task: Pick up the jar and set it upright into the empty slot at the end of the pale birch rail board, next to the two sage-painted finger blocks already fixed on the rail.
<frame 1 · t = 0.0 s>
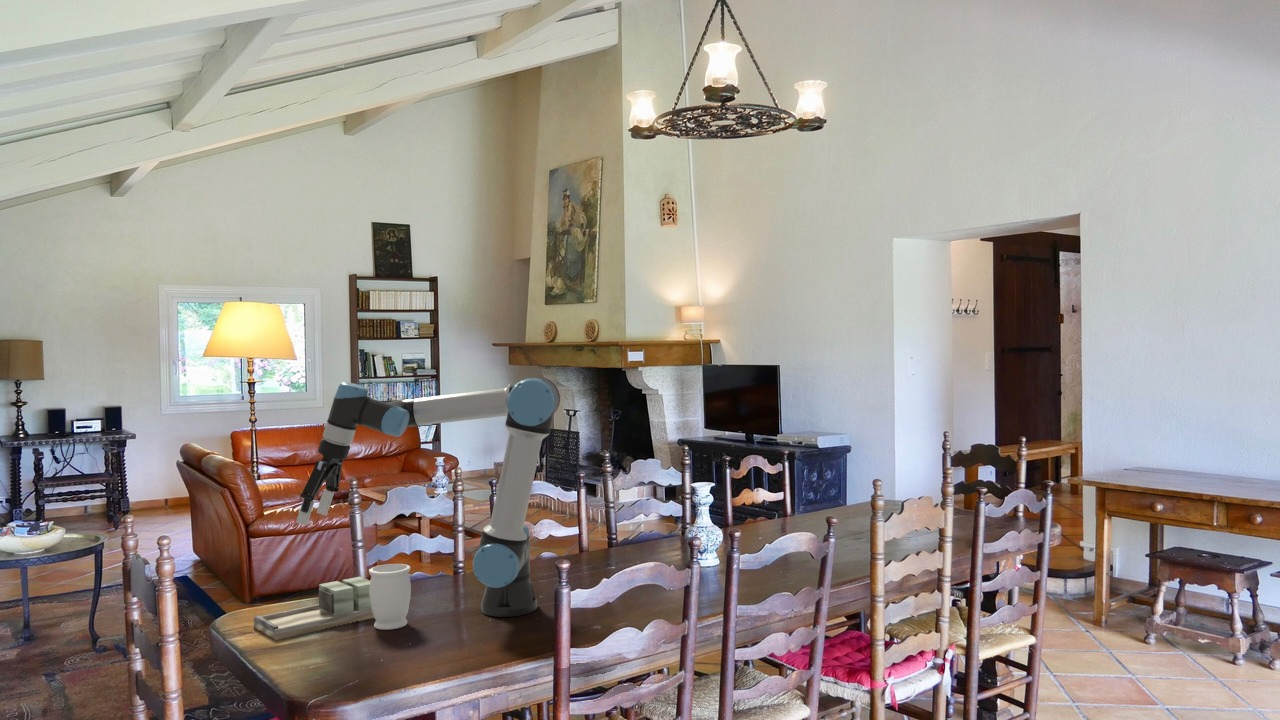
hand: (311, 518, 237), 28 cm above the table, tool tilted 20°, fingers open, 13 cm apart
jar: (390, 626, 236), on the table
rail board: (318, 621, 241), on the table
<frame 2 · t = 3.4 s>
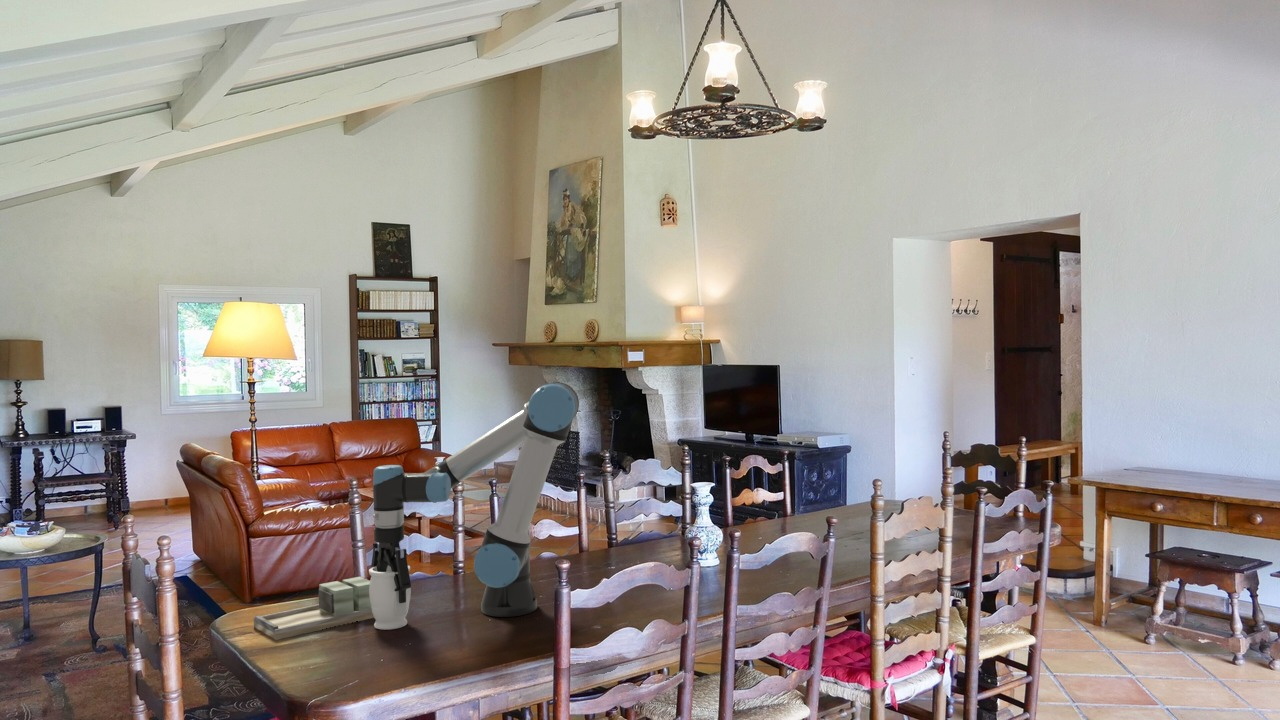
hand: (390, 610, 236), 4 cm above the table, tool pointing down, fingers closed on jar, 10 cm apart
jar: (390, 626, 236), on the table, touching gripper
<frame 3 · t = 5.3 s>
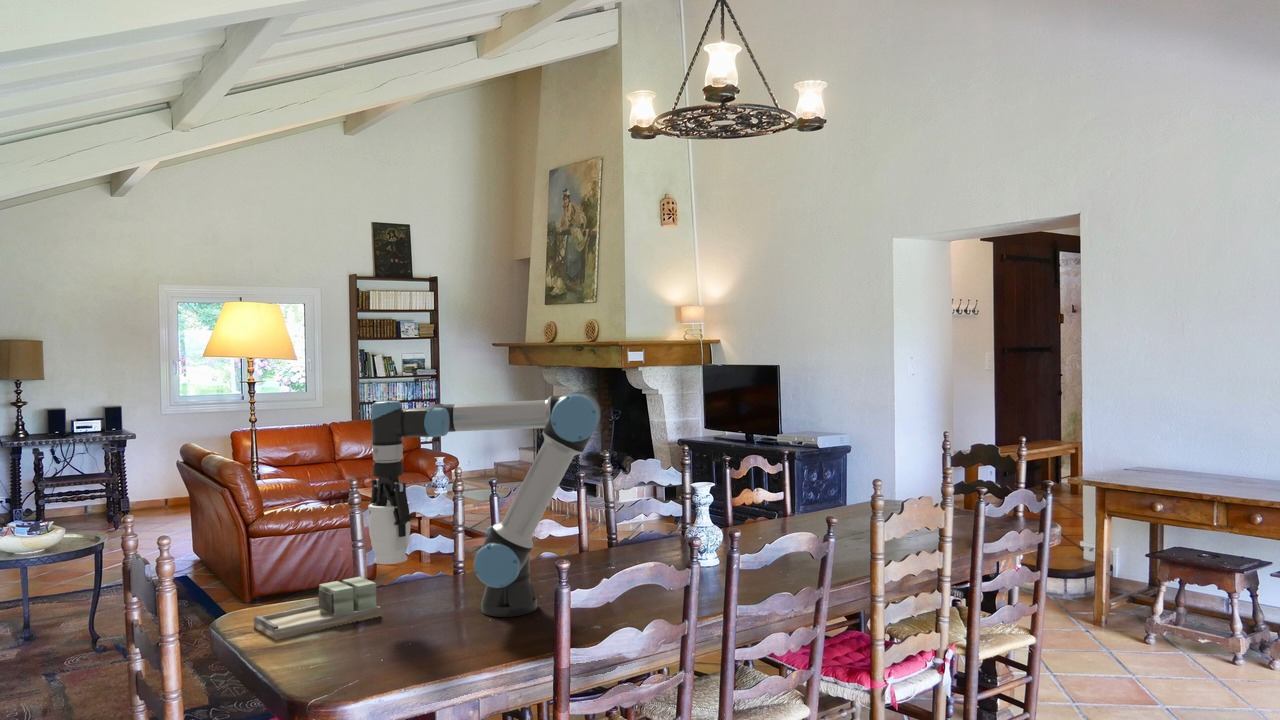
hand: (390, 546, 236), 21 cm above the table, tool pointing down, fingers closed on jar, 10 cm apart
jar: (390, 561, 236), point 17 cm above the table, touching gripper
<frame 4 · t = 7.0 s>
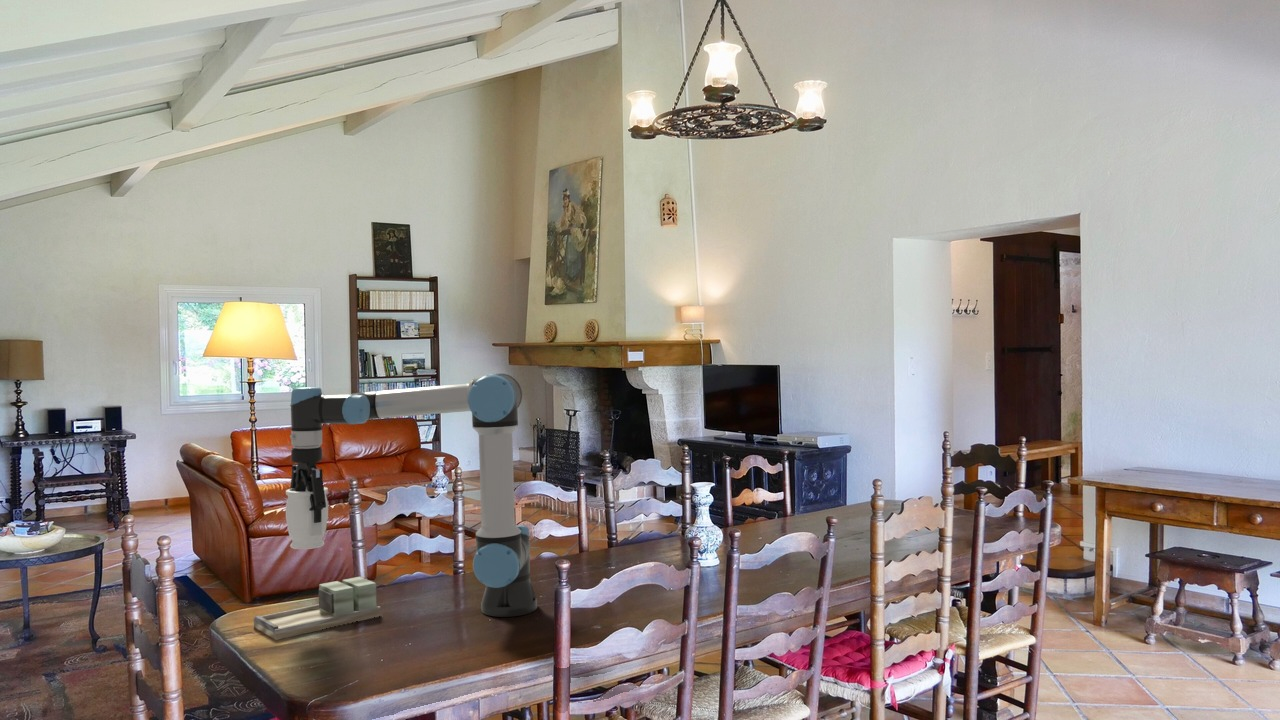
hand: (307, 531, 237), 25 cm above the table, tool pointing down, fingers closed on jar, 10 cm apart
jar: (307, 547, 237), point 20 cm above the table, touching gripper
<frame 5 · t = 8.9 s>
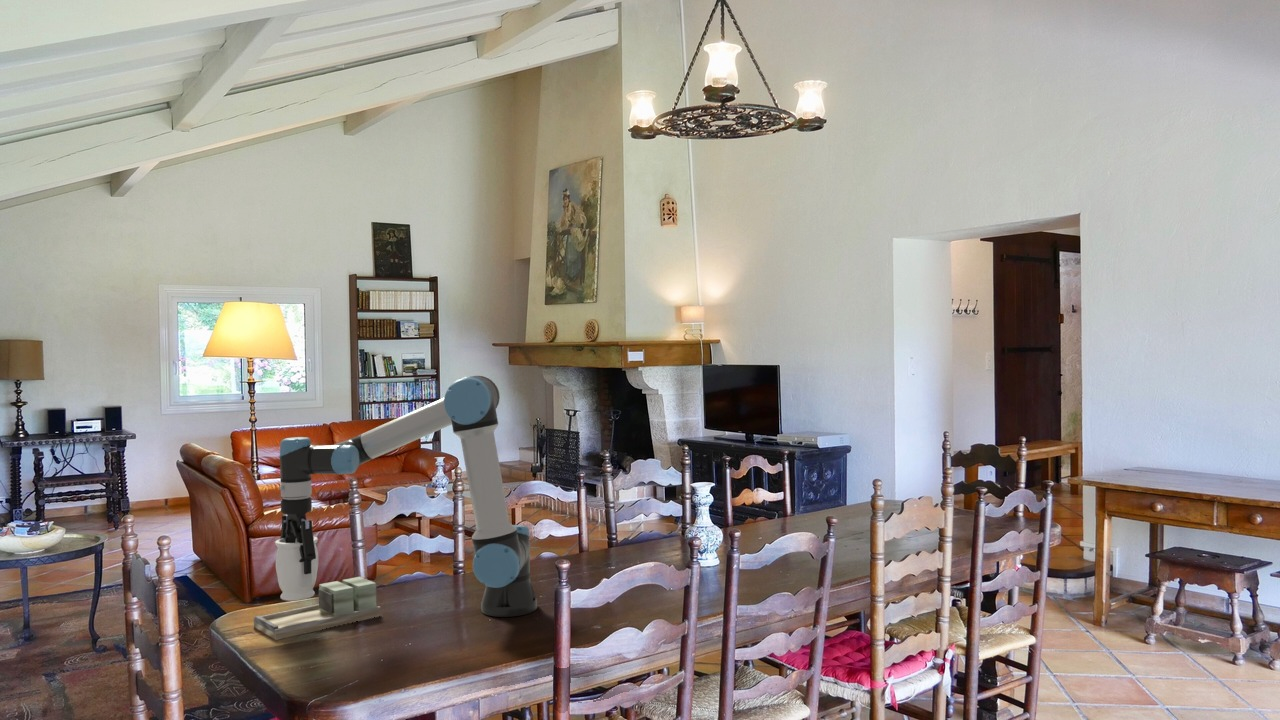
hand: (297, 582, 237), 11 cm above the table, tool pointing down, fingers closed on jar, 10 cm apart
jar: (297, 597, 237), point 7 cm above the table, touching gripper
when the fingers open (7 cm above the table, at t = 10.4 s): jar drops 1 cm, resting on rail board.
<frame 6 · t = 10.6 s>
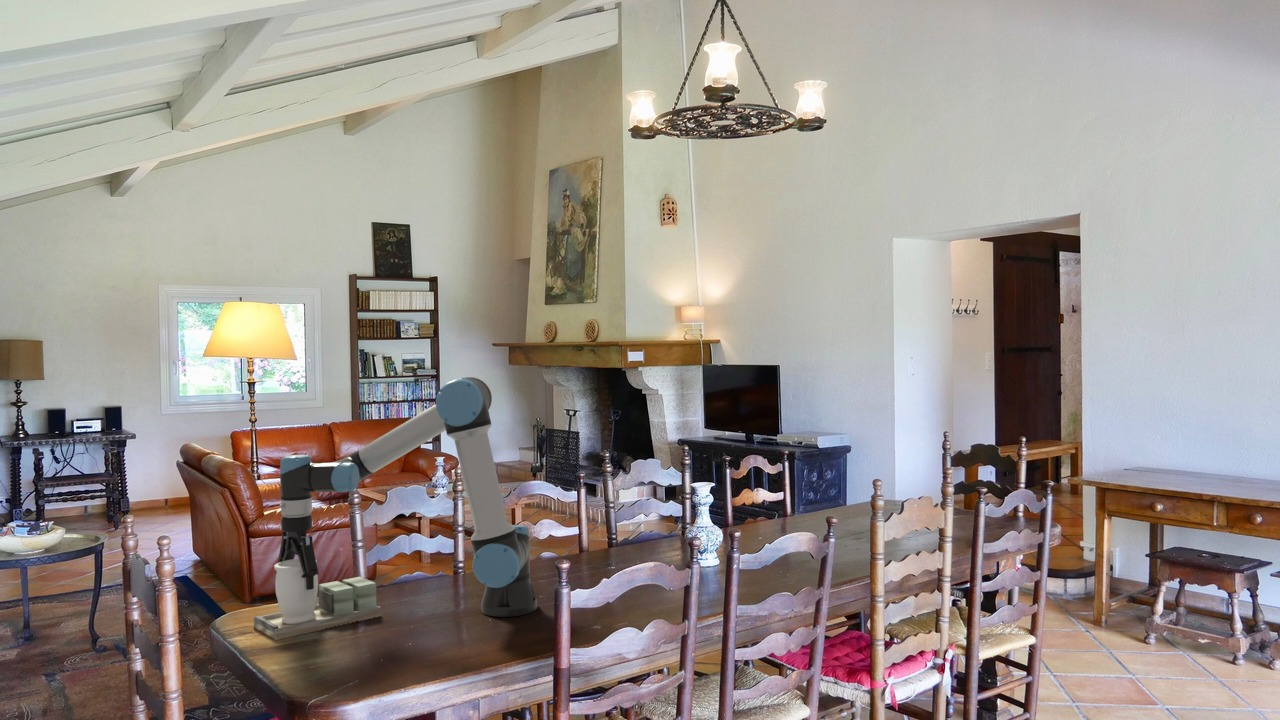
hand: (298, 596, 237), 8 cm above the table, tool pointing down, fingers open, 13 cm apart
jar: (298, 620, 237), point 1 cm above the table, touching rail board
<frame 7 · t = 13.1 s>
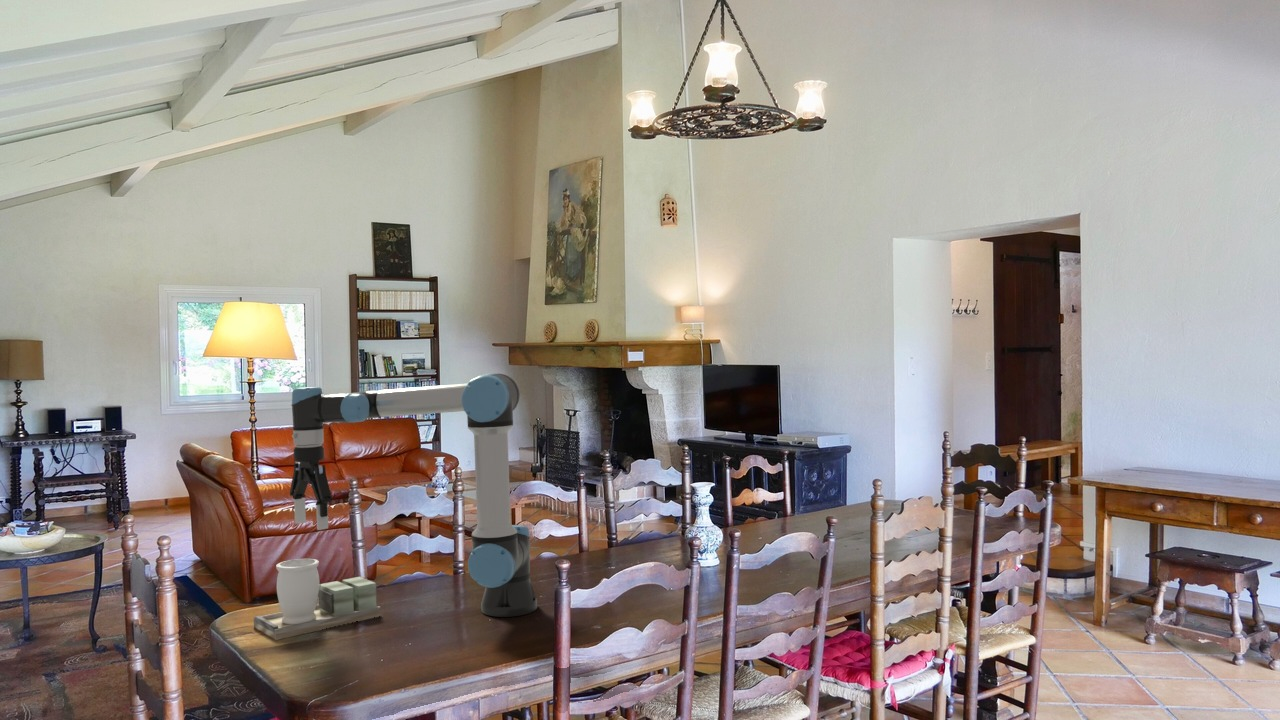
hand: (311, 526, 240), 25 cm above the table, tool pointing down, fingers open, 13 cm apart
nothing on the table moved.
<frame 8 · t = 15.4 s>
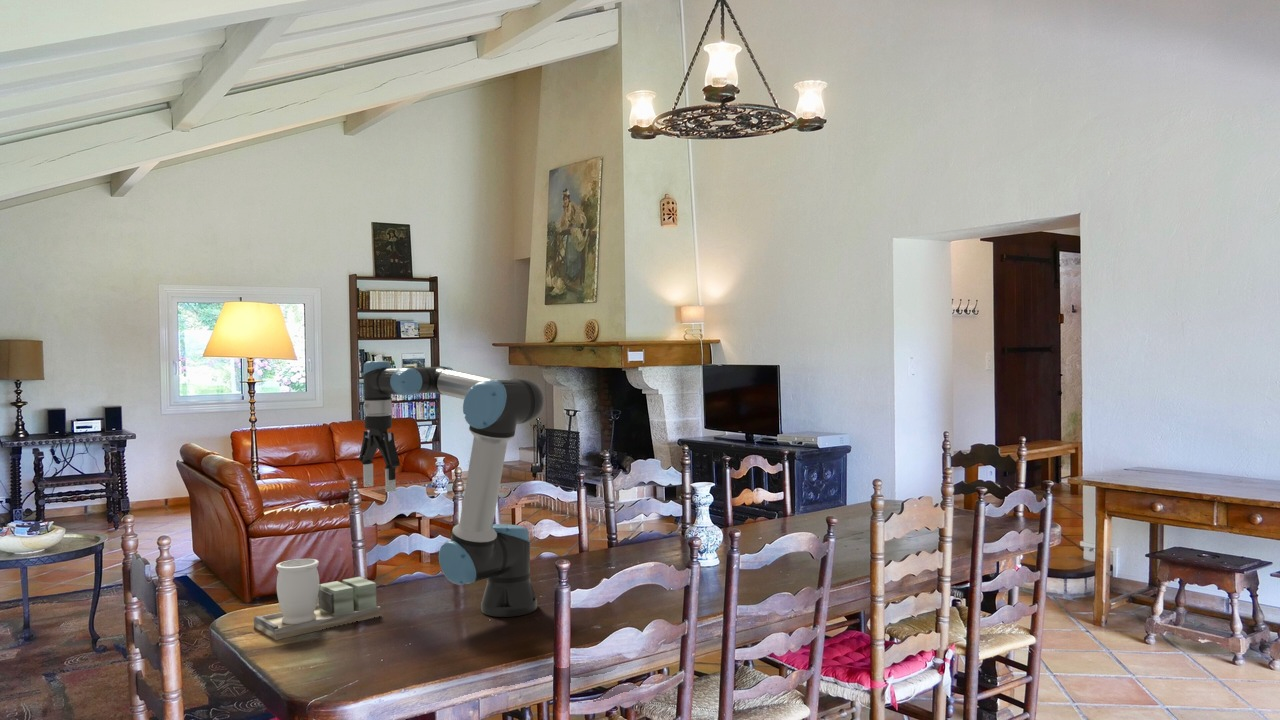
hand: (379, 489, 261), 32 cm above the table, tool pointing down, fingers open, 13 cm apart
nothing on the table moved.
at the end: jar 0.1 cm from the target spot on the rail board, point 1.3 cm above the rail board's base; jar tilted 0°; the gripper is holding nothing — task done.
